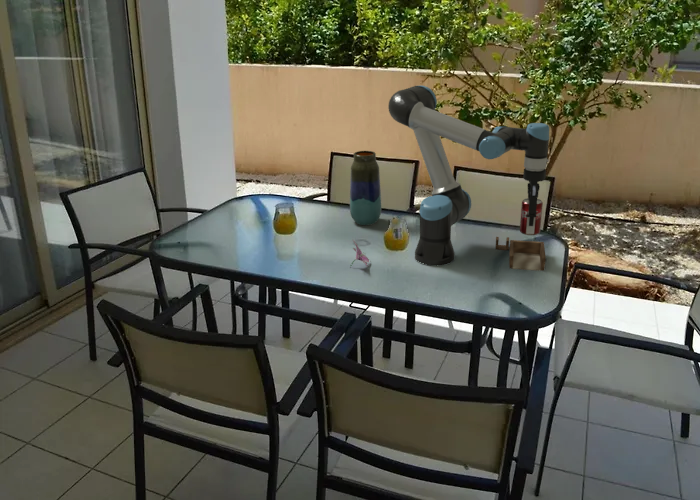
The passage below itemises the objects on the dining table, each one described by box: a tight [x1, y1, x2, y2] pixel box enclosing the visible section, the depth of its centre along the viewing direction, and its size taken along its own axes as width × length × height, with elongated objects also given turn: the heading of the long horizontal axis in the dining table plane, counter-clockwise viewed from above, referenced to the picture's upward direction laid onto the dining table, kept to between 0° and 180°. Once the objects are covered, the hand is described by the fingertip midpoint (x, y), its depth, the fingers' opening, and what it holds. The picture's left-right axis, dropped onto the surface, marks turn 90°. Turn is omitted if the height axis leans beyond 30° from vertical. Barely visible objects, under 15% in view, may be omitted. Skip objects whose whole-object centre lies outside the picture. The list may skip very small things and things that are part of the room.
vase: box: [349, 150, 382, 226], centre depth 272 cm, size 14×14×31 cm
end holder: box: [508, 239, 547, 272], centre depth 234 cm, size 12×15×5 cm
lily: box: [351, 239, 370, 266], centre depth 233 cm, size 12×12×10 cm
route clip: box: [494, 236, 510, 251], centre depth 247 cm, size 5×4×4 cm
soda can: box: [519, 197, 544, 236], centre depth 226 cm, size 7×7×12 cm
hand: (529, 229), depth 228 cm, fingers closed on soda can, 7 cm apart
